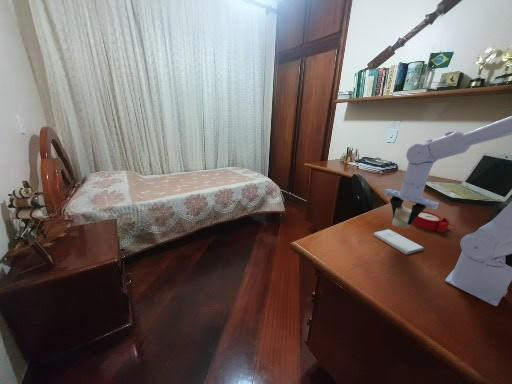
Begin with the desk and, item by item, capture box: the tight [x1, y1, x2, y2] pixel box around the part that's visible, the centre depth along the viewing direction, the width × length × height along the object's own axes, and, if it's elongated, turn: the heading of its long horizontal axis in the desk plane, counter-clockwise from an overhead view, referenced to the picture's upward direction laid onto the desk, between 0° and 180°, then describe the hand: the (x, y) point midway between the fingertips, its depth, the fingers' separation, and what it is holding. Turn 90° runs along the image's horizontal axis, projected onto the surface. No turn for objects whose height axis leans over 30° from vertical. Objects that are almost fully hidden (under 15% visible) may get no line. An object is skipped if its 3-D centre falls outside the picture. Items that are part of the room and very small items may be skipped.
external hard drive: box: [372, 229, 425, 256], centre depth 72 cm, size 2×8×12 cm
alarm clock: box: [412, 210, 458, 233], centre depth 84 cm, size 10×6×15 cm
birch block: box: [391, 205, 412, 230], centre depth 69 cm, size 4×4×6 cm
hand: (402, 221), depth 70 cm, fingers closed on birch block, 4 cm apart
